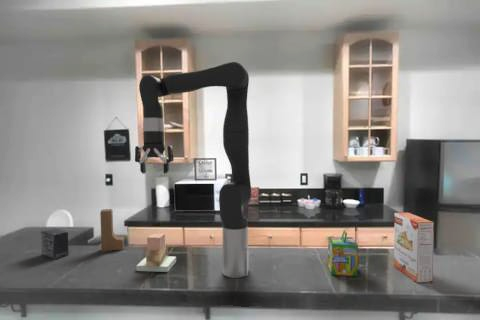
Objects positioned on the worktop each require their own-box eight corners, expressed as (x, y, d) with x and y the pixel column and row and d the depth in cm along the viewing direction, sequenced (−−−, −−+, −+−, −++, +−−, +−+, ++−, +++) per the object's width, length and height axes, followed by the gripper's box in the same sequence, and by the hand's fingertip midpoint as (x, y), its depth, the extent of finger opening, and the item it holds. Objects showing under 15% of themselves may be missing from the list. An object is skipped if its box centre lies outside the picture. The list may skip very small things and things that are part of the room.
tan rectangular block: (166, 256, 120) (165, 244, 120) (159, 265, 111) (159, 252, 111) (153, 256, 120) (153, 244, 120) (146, 265, 111) (146, 252, 111)
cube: (165, 246, 118) (164, 233, 117) (160, 250, 113) (159, 237, 112) (152, 245, 118) (152, 233, 118) (147, 250, 113) (147, 237, 113)
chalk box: (327, 265, 116) (327, 227, 115) (351, 266, 114) (352, 228, 114) (331, 275, 107) (331, 234, 106) (358, 277, 105) (358, 235, 105)
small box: (70, 255, 128) (69, 231, 128) (53, 260, 123) (52, 235, 122) (57, 250, 134) (56, 227, 134) (41, 255, 129) (40, 231, 128)
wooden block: (124, 246, 139) (123, 208, 138) (123, 249, 134) (122, 210, 133) (103, 248, 136) (101, 209, 135) (101, 251, 132) (100, 211, 131)
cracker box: (392, 266, 114) (393, 212, 113) (408, 266, 114) (409, 211, 113) (415, 283, 100) (417, 221, 99) (433, 283, 100) (435, 221, 99)
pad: (176, 261, 120) (176, 256, 120) (167, 272, 110) (167, 267, 110) (147, 260, 122) (147, 255, 122) (135, 271, 111) (135, 265, 111)
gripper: (175, 130, 116) (175, 172, 117) (139, 131, 117) (140, 172, 118) (168, 129, 108) (169, 174, 109) (130, 130, 110) (132, 174, 111)
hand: (154, 173), depth 114 cm, fingers open, 8 cm apart
